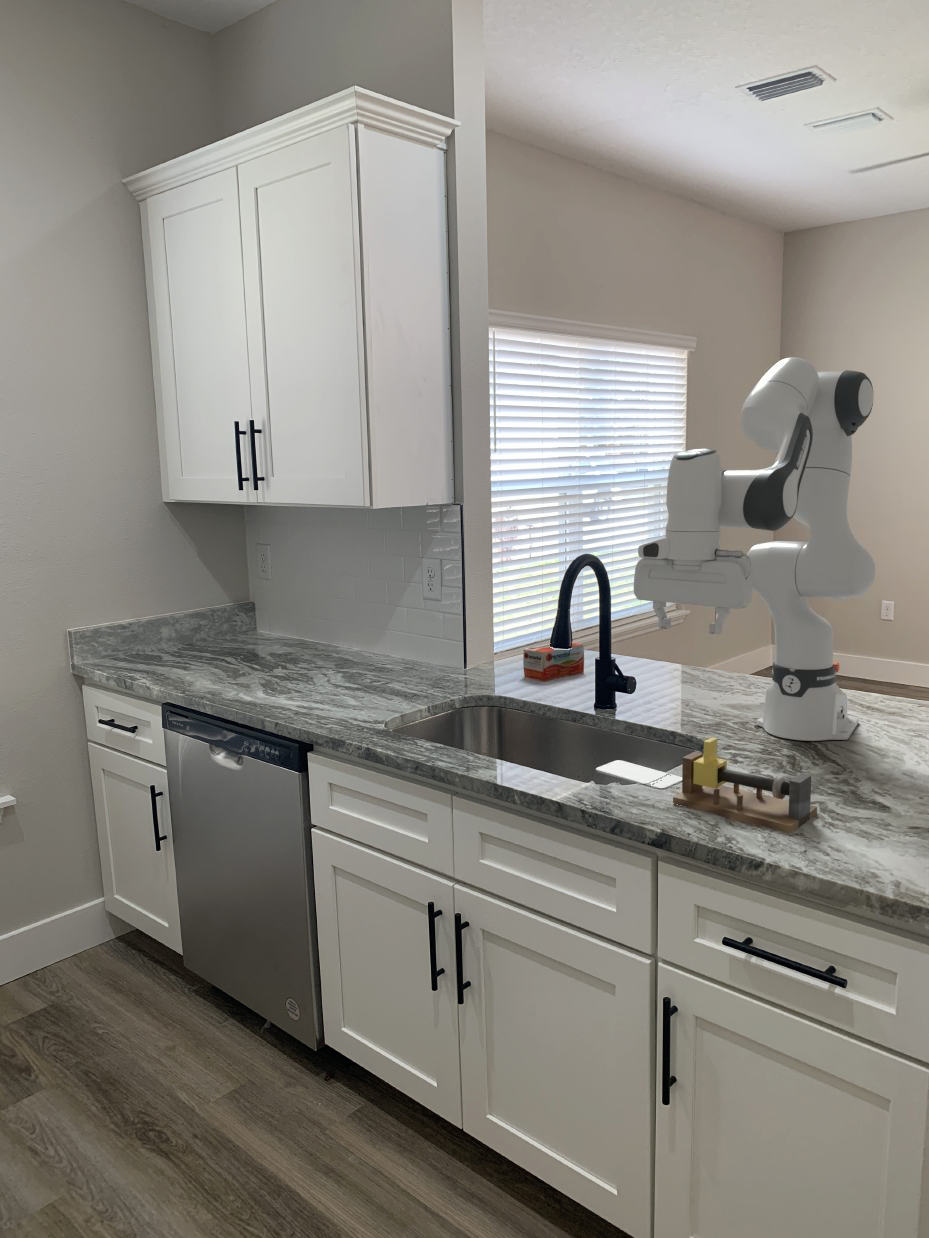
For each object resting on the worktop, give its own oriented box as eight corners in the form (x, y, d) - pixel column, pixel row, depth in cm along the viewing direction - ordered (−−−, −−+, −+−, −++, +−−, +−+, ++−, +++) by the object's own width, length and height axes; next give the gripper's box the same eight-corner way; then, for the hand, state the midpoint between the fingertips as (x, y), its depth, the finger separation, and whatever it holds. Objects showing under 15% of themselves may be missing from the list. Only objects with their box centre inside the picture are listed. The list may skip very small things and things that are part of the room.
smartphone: (662, 788, 162) (593, 768, 173) (661, 793, 162) (593, 772, 173) (686, 778, 167) (618, 759, 177) (686, 782, 167) (618, 763, 178)
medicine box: (563, 668, 258) (562, 640, 256) (584, 673, 251) (584, 644, 250) (522, 677, 248) (522, 648, 247) (544, 682, 242) (544, 652, 241)
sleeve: (693, 783, 156) (694, 740, 154) (704, 777, 158) (705, 735, 157) (715, 788, 153) (716, 744, 152) (726, 782, 156) (727, 739, 154)
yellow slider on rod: (672, 803, 155) (673, 762, 154) (702, 787, 162) (702, 747, 161) (790, 833, 142) (792, 787, 141) (816, 813, 149) (818, 770, 148)
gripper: (760, 550, 151) (756, 635, 153) (649, 545, 164) (647, 623, 166) (742, 552, 146) (739, 639, 148) (629, 546, 160) (627, 627, 162)
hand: (689, 631), depth 157 cm, fingers open, 8 cm apart
